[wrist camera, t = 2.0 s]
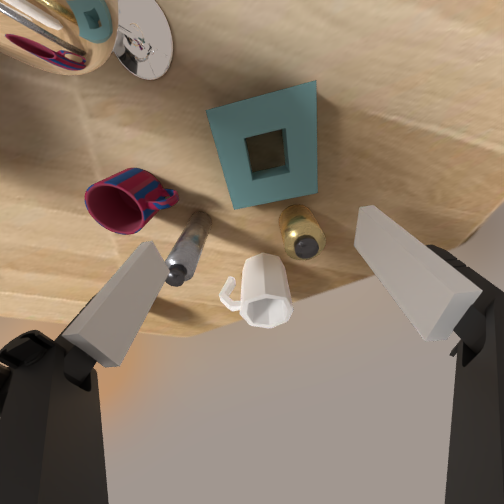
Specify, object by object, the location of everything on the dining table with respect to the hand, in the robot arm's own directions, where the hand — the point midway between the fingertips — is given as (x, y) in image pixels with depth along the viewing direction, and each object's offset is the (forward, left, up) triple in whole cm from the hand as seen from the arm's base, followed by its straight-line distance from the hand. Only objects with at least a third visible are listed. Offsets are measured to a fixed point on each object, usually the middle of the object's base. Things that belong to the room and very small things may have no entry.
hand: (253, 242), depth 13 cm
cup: (0, -15, -18) cm, 23 cm away
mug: (+18, -4, -18) cm, 26 cm away
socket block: (-2, +2, -18) cm, 18 cm away
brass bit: (+9, +5, -18) cm, 20 cm away
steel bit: (+6, -10, -18) cm, 21 cm away
